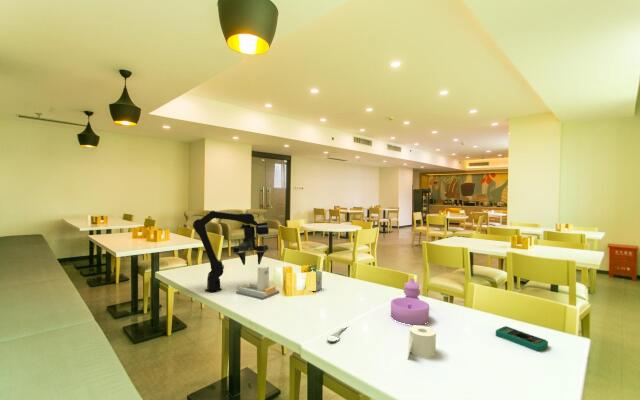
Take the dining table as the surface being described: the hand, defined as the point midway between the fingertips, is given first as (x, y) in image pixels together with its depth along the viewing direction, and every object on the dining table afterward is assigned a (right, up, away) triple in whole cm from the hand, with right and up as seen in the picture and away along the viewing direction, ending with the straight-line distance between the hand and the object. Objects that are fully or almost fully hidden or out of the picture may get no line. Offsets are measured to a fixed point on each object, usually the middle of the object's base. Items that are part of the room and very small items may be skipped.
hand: (251, 264), depth 167 cm
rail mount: (+5, -13, -7) cm, 16 cm away
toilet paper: (+69, -15, -67) cm, 97 cm away
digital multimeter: (+109, -16, -57) cm, 124 cm away
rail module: (+8, -12, -9) cm, 17 cm away
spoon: (+45, -15, -53) cm, 71 cm away
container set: (+77, -15, -33) cm, 85 cm away
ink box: (+35, -14, -1) cm, 37 cm away
